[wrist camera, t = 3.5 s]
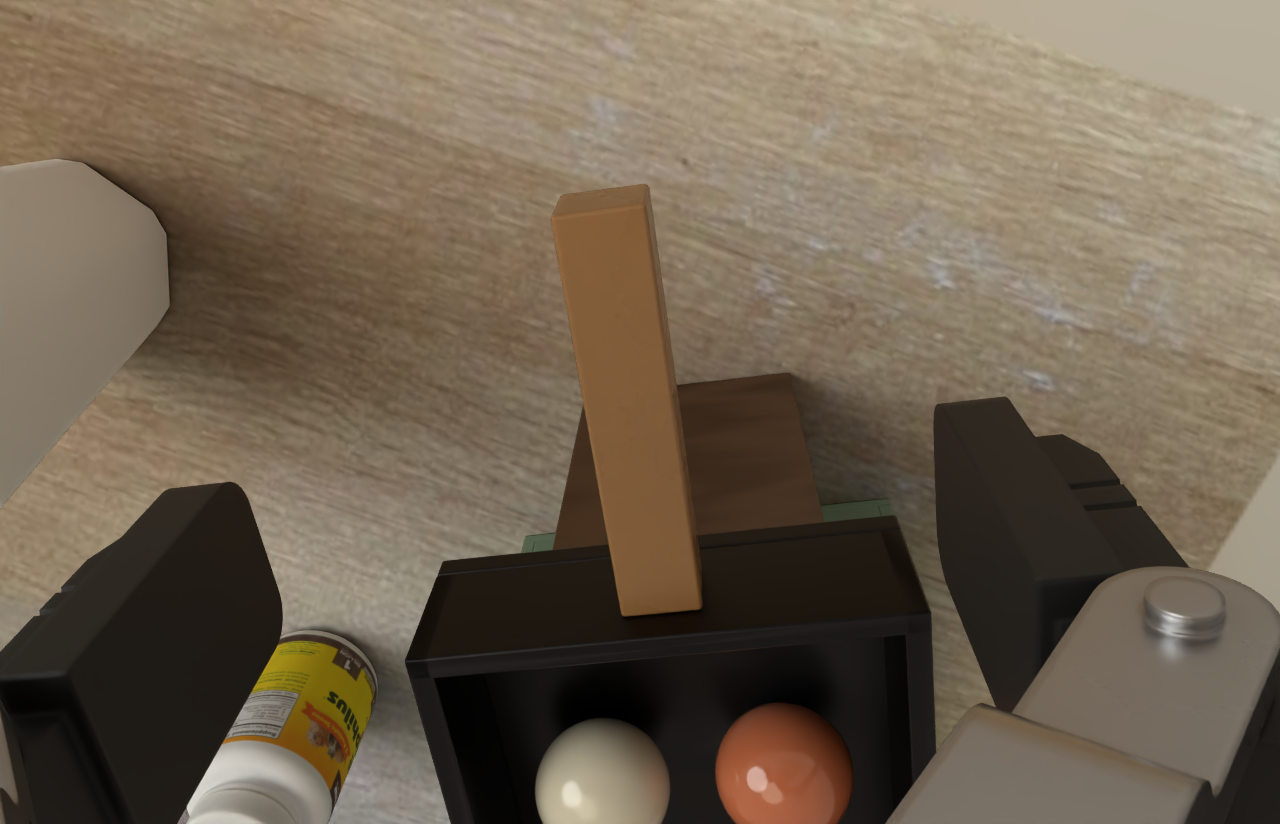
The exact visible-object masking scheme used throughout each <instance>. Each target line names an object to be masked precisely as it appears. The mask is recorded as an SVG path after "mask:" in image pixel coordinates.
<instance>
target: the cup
mask: <svg viewBox="0 0 1280 824" xmlns="http://www.w3.org/2000/svg"><path fill="white" fill-rule="evenodd" d="M169 306H170V300H169V279H168V258H167V237H166V233H165V231H164V229H163V228H162V226H161V224H160V222H159V221H158V219H157V217H156V216H155V214H154V212H153V211H152V210H151V209H149V208H148V207H146V206H145V205H143V204H142V203H141V202H139V201H138V200H136V199H135V198H133V197H132V196H130V195H129V194H127V193H126V192H125V191H123V190H122V189H120V188H119V187H117V186H116V185H114V184H113V183H112V182H110V181H109V180H107V179H106V178H104V177H103V176H101V175H100V174H99V173H97V172H96V171H94V170H93V169H91V168H90V167H88V166H87V165H85V164H84V163H82V162H75V161H69V160H62V159H52V160H45V161H38V162H31V163H25V164H18V165H11V166H4V167H0V509H1V508H2V506H3V505H4V504H5V503H6V502H7V501H8V499H9V498H10V497H11V496H12V495H13V494H14V492H15V491H16V490H17V489H18V488H19V487H20V485H21V484H22V483H23V482H24V481H25V480H26V478H27V477H28V476H29V475H30V474H31V473H32V471H33V470H34V469H35V468H36V467H37V466H38V464H39V463H40V462H41V461H42V460H43V459H44V457H45V456H46V455H47V454H48V453H49V451H50V450H51V449H52V448H53V447H54V446H55V444H56V443H57V442H58V441H59V440H60V439H61V437H62V436H63V435H64V434H65V433H66V432H67V430H68V429H69V428H70V427H71V426H72V425H73V423H74V422H75V421H76V420H77V419H78V418H79V416H80V415H81V414H82V413H83V412H84V411H85V409H86V408H87V407H88V406H89V405H90V404H91V402H92V401H93V400H94V399H95V398H96V397H97V395H98V394H99V393H100V392H101V391H102V390H103V388H104V387H105V386H106V385H107V384H108V383H109V381H110V380H111V379H112V378H113V377H114V376H115V374H116V373H117V372H118V371H119V370H120V369H121V367H122V366H123V365H124V364H125V363H126V362H127V360H128V359H129V358H130V357H131V356H132V355H133V353H134V352H135V351H136V350H137V349H138V348H139V346H140V345H141V344H142V343H143V342H144V340H145V339H146V338H147V337H148V336H149V335H150V333H151V332H152V331H153V330H154V329H155V328H156V326H157V325H158V324H159V323H160V321H161V319H162V318H163V316H164V315H165V313H166V311H167V310H168V308H169Z"/></svg>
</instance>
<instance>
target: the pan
mask: <svg viewBox="0 0 1280 824" xmlns="http://www.w3.org/2000/svg"><path fill="white" fill-rule="evenodd" d="M551 225H552V230H553V236H554V241H555V247H556V253H557V258H558V264H559V269H560V275H561V281H562V286H563V292H564V297H565V303H566V309H567V314H568V320H569V325H570V331H571V337H572V342H573V348H574V353H575V359H576V365H577V370H578V376H579V381H580V387H581V392H582V398H583V404H584V409H585V415H586V420H587V426H588V432H589V437H590V443H591V448H592V454H593V460H594V465H595V471H596V476H597V482H598V488H599V493H600V499H601V504H602V510H603V516H604V521H605V527H606V532H607V538H608V544H605V545H595V546H585V547H576V548H566V549H556V550H546V551H537V552H527V553H517V554H507V555H498V556H488V557H478V558H468V559H459V560H449V561H444V562H443V563H442V565H441V568H440V570H439V573H438V576H437V578H436V580H435V583H434V586H433V588H432V591H431V594H430V596H429V599H428V601H427V604H426V607H425V609H424V612H423V614H422V617H421V620H420V622H419V625H418V628H417V630H416V633H415V635H414V638H413V641H412V643H411V646H410V649H409V651H408V654H407V656H406V659H405V664H406V668H407V671H408V675H409V678H410V682H411V685H412V689H413V692H414V696H415V699H416V703H417V706H418V710H419V713H420V717H421V720H422V724H423V727H424V731H425V734H426V738H427V741H428V745H429V748H430V752H431V756H432V759H433V763H434V766H435V770H436V773H437V777H438V780H439V784H440V787H441V791H442V794H443V798H444V801H445V805H446V808H447V812H448V815H449V819H450V822H451V824H543V823H542V821H541V819H540V816H539V813H538V810H537V806H536V800H535V779H536V774H537V770H538V766H539V763H540V761H541V759H542V757H543V755H544V753H545V751H546V749H547V748H548V746H549V745H550V744H551V743H552V741H553V740H554V739H555V738H556V737H557V736H558V735H559V734H560V733H561V732H563V731H564V730H565V729H567V728H568V727H570V726H572V725H573V724H575V723H578V722H580V721H583V720H586V719H590V718H596V717H611V718H617V719H621V720H624V721H627V722H629V723H631V724H633V725H635V726H637V727H638V728H640V729H641V730H643V731H644V732H645V733H646V734H647V735H649V736H650V737H651V739H652V740H653V741H654V742H655V743H656V745H657V746H658V748H659V749H660V751H661V753H662V755H663V757H664V759H665V761H666V764H667V768H668V771H669V776H670V788H671V790H670V800H669V805H668V809H667V813H666V816H665V818H664V820H663V822H662V824H735V823H734V821H733V820H732V819H731V818H730V816H729V815H728V813H727V812H726V810H725V808H724V806H723V805H722V802H721V800H720V797H719V794H718V791H717V786H716V780H715V763H716V756H717V753H718V749H719V745H720V743H721V741H722V739H723V737H724V735H725V733H726V732H727V730H728V729H729V727H730V726H731V725H732V724H733V723H734V722H735V721H736V720H737V719H738V718H739V717H740V716H741V715H743V714H744V713H746V712H747V711H749V710H750V709H752V708H754V707H757V706H759V705H762V704H766V703H770V702H793V703H798V704H801V705H804V706H807V707H809V708H811V709H813V710H815V711H817V712H819V713H820V714H821V715H823V716H824V717H825V718H827V719H828V720H829V721H830V722H831V723H832V724H833V725H834V726H835V727H836V728H837V730H838V731H839V732H840V734H841V735H842V737H843V739H844V741H845V742H846V744H847V746H848V749H849V752H850V755H851V758H852V762H853V768H854V787H853V793H852V797H851V800H850V803H849V806H848V808H847V810H846V812H845V814H844V816H843V817H842V819H841V820H840V822H839V823H838V824H885V823H886V822H887V820H888V819H889V818H890V816H891V815H892V813H893V812H894V811H895V809H896V808H897V807H898V805H899V804H900V802H901V801H902V800H903V798H904V797H905V795H906V794H907V793H908V791H909V790H910V789H911V787H912V786H913V784H914V783H915V782H916V780H917V779H918V777H919V776H920V775H921V773H922V772H923V771H924V769H925V768H926V766H927V765H928V764H929V762H930V761H931V759H932V758H933V757H934V755H935V754H936V735H935V707H934V679H933V651H932V623H931V611H930V608H929V605H928V602H927V600H926V597H925V594H924V591H923V589H922V586H921V583H920V580H919V577H918V575H917V572H916V569H915V566H914V564H913V561H912V558H911V555H910V553H909V550H908V547H907V544H906V542H905V539H904V536H903V533H902V531H901V528H900V525H899V523H898V520H897V517H896V516H895V515H888V516H878V517H869V518H859V519H849V520H839V521H830V522H820V523H810V524H800V525H791V526H781V527H771V528H761V529H751V530H742V531H732V532H722V533H712V534H703V535H697V528H696V521H695V514H694V507H693V499H692V492H691V485H690V478H689V471H688V463H687V456H686V449H685V442H684V434H683V427H682V420H681V413H680V406H679V398H678V391H677V384H676V377H675V369H674V362H673V355H672V348H671V341H670V333H669V326H668V319H667V312H666V304H665V297H664V290H663V283H662V276H661V268H660V261H659V254H658V247H657V239H656V232H655V225H654V218H653V211H652V203H651V196H650V189H649V186H648V185H647V184H639V185H632V186H624V187H617V188H609V189H602V190H594V191H587V192H580V193H572V194H565V195H562V196H561V197H560V199H559V201H558V203H557V205H556V208H555V210H554V212H553V214H552V216H551Z"/></svg>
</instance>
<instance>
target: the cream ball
mask: <svg viewBox="0 0 1280 824" xmlns="http://www.w3.org/2000/svg"><path fill="white" fill-rule="evenodd" d="M670 790H671V788H670V776H669V771H668V768H667V764H666V761H665V759H664V757H663V755H662V753H661V751H660V749H659V748H658V746H657V745H656V743H655V742H654V741H653V740H652V739H651V737H650V736H649V735H647V734H646V733H645V732H644V731H643V730H641V729H640V728H638V727H637V726H635V725H633V724H631V723H629V722H627V721H624V720H621V719H617V718H611V717H596V718H590V719H586V720H583V721H580V722H578V723H575V724H573V725H572V726H570V727H568V728H567V729H565V730H564V731H563V732H561V733H560V734H559V735H558V736H557V737H556V738H555V739H554V740H553V741H552V743H551V744H550V745H549V746H548V748H547V749H546V751H545V753H544V755H543V757H542V759H541V761H540V763H539V766H538V770H537V774H536V779H535V800H536V806H537V810H538V813H539V816H540V819H541V821H542V823H543V824H662V822H663V820H664V818H665V816H666V813H667V809H668V805H669V800H670Z"/></svg>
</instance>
